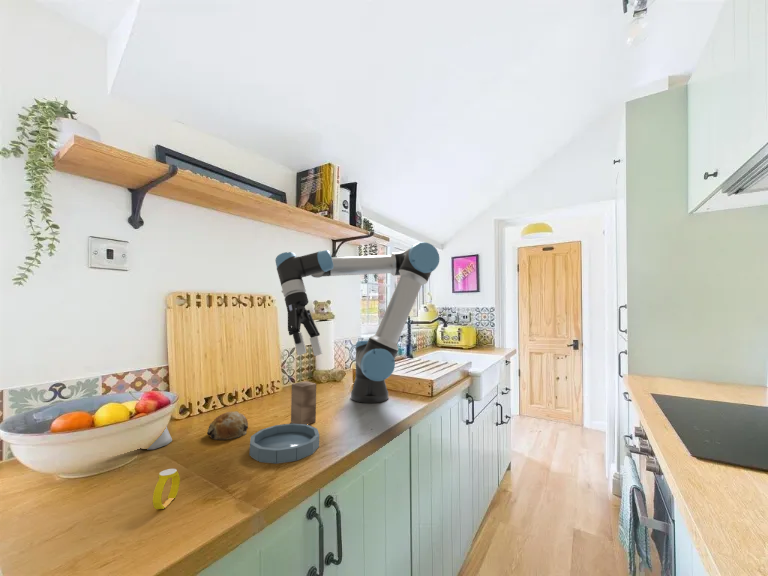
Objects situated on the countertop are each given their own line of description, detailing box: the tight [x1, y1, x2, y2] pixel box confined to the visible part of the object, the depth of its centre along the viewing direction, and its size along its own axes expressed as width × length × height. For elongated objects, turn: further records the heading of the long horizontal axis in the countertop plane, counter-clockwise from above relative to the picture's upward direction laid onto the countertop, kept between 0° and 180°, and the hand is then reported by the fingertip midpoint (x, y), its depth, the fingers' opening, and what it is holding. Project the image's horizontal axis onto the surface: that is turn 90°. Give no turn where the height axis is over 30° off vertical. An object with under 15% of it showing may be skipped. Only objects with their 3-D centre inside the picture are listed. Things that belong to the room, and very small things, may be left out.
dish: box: [249, 422, 320, 464], centre depth 84 cm, size 17×17×3 cm
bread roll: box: [206, 411, 249, 441], centre depth 92 cm, size 10×10×8 cm
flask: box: [147, 426, 173, 450], centre depth 85 cm, size 7×7×10 cm
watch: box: [152, 468, 181, 510], centre depth 60 cm, size 6×3×6 cm, turn 4°
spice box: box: [290, 380, 317, 425], centre depth 103 cm, size 6×6×12 cm
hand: (310, 354), depth 105 cm, fingers open, 13 cm apart
